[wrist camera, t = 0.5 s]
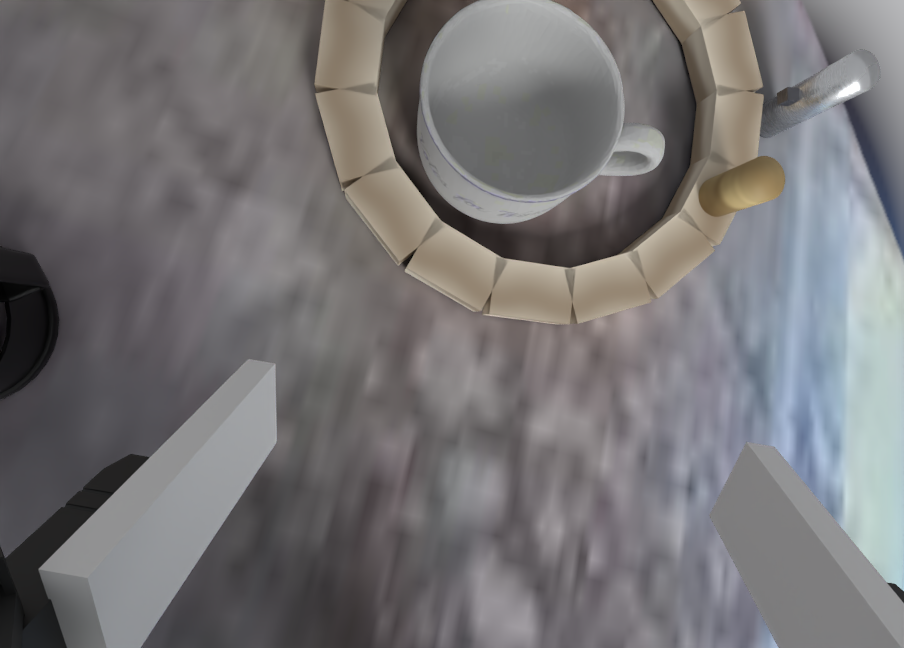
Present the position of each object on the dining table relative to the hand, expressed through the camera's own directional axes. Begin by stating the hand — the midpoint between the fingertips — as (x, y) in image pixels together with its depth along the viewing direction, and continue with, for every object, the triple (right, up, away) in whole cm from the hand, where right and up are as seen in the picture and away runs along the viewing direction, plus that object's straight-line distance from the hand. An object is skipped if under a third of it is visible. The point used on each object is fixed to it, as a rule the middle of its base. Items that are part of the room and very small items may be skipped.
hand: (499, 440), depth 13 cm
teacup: (+3, +14, +18) cm, 23 cm away
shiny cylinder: (+22, +18, +21) cm, 35 cm away
